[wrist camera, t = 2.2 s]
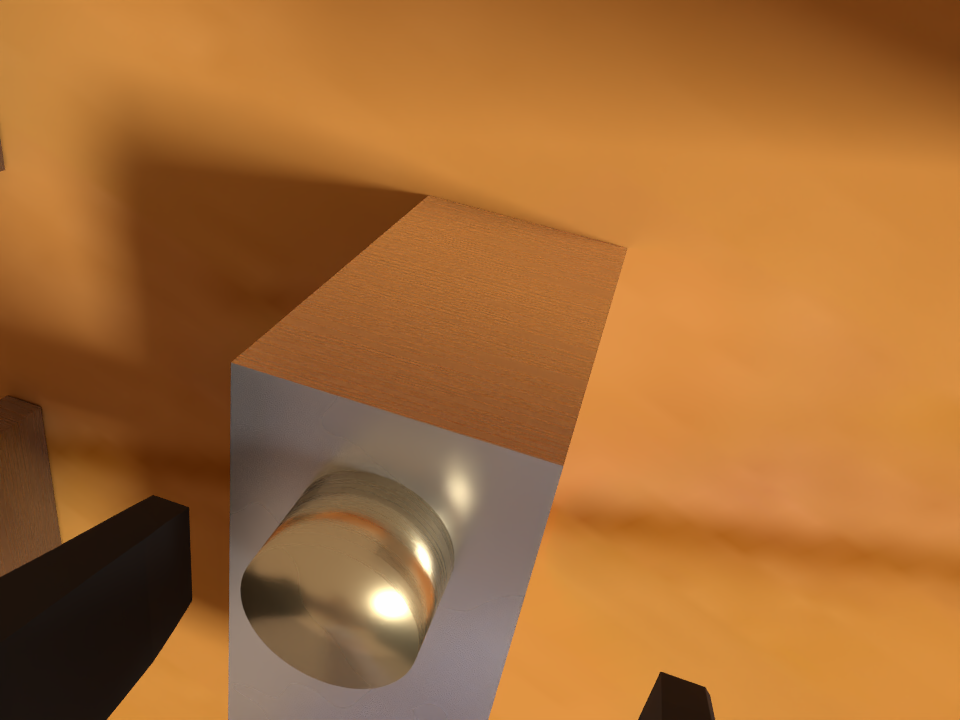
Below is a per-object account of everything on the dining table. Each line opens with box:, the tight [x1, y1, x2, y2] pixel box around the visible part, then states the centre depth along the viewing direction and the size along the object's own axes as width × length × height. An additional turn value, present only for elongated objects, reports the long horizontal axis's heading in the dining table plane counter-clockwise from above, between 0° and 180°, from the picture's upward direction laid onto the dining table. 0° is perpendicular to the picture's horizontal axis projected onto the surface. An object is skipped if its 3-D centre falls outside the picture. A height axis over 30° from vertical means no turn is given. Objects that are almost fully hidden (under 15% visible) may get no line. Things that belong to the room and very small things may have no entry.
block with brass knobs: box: [228, 195, 627, 720], centre depth 11 cm, size 11×3×6 cm, turn 170°
